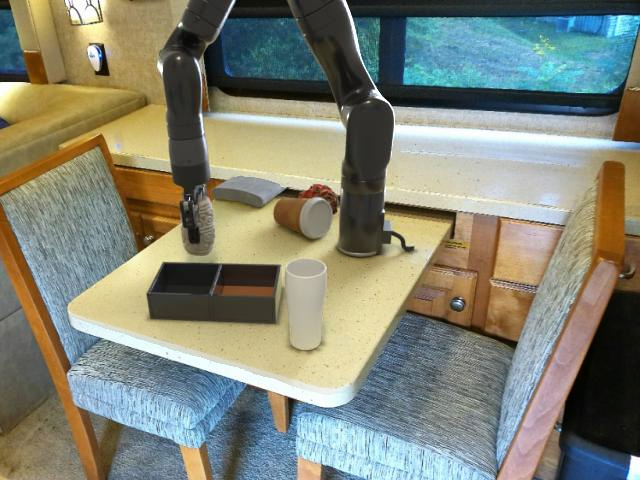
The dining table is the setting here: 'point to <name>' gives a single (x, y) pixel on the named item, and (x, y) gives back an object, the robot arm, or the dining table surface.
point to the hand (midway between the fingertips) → (198, 235)
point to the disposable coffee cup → (304, 215)
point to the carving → (201, 230)
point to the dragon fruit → (321, 195)
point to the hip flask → (248, 190)
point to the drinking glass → (305, 301)
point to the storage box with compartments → (216, 292)
